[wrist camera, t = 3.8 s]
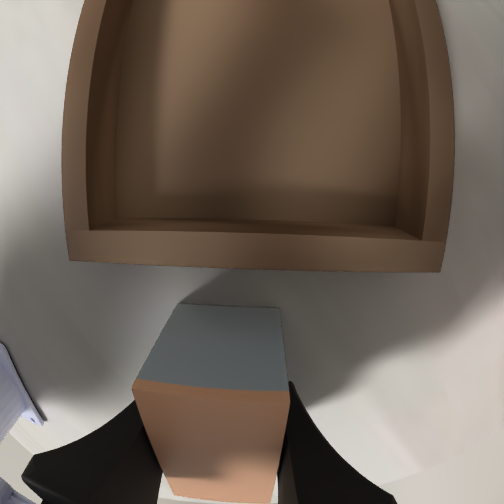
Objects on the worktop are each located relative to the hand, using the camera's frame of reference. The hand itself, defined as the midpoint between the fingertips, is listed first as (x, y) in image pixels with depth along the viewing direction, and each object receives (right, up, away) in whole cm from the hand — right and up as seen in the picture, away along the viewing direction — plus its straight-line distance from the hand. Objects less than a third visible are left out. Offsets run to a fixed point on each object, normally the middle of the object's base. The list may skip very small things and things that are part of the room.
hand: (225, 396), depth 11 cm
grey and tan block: (0, 0, +1) cm, 2 cm away
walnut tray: (+1, +13, -2) cm, 13 cm away
